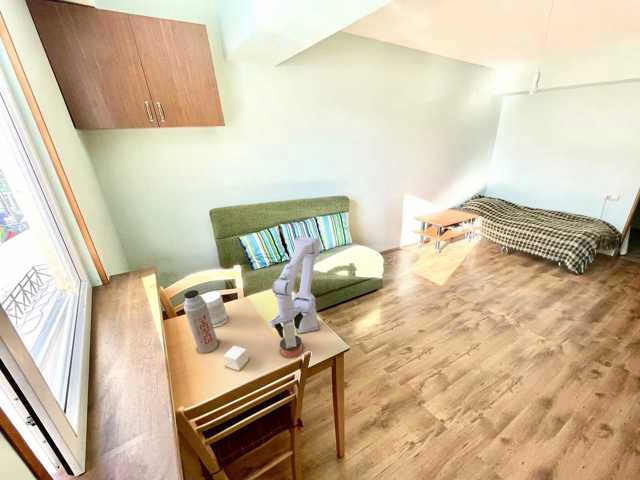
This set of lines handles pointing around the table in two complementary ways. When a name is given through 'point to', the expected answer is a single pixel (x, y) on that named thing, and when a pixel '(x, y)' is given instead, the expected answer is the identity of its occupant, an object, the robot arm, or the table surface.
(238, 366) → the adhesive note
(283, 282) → the robot arm
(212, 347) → the thermos bottle
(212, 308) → the supplement tub
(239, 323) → the table surface
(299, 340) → the terracotta tin
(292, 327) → the cosmetic box
